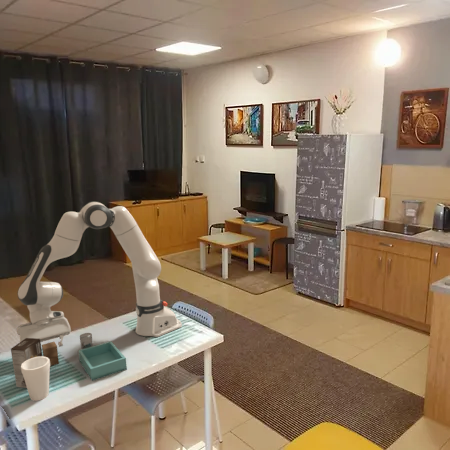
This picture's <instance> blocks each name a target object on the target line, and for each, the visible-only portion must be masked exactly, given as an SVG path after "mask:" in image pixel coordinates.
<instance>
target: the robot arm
mask: <svg viewBox="0 0 450 450" xmlns="http://www.w3.org/2000/svg"><path fill="white" fill-rule="evenodd" d="M88 228H91V229H94V230H100V229H106V228H110V229H111V231H112V232H113V234H114V236H115V238H116V239H117V241H118V242H119V244H120V246H121V247H122V249H123V251H124V252H125V254H126V255H127V257H128V259H129V260H130V263H131V269H132V274H133V282H134V286H135V294H136V295H135V297H136V302H135V311H136V317H137V318H136V327H135V333H136V334H137V335H140V336H142V337H143V336H144V337H157V338H158V337H161V336H163V335H165V334H168V333H171V332H173V331H175V330H179V329H180V328H182V326H183V325H182V321H181V320H180V319H178V318H177V316H176V314H175V312H174V311H172V310H171V309H170V308H168V303H167V302H166V301H164V300H162V299H161V297H160V295H161V294H160V293H161V292H160V283H159V281H158V277H159V276H160V275H161V272H162V264H161V262H160V259H159V258H158V256H157V255H156V253H155V252H154V249H153V248H152V246H151V245H150V243H149V242H148V241H147V239H146V237H145V236H144V234H143V231H142V230H141V228H140V227H139V224H138V222H137V221H136V219H135V218H134V217H133V215H132V214H131V213H130V212H129V210H128V209H127V208H126V206H123V205H117V206H114V207H112V208H108V207H107V206H105V204H103V203H101V202H99V201H94V200H93V201H92V200H91V201H88V202H87V203H85V204H84V205H83V206H82V207H81V208H80V209H78V211H77V212H76V211H67V212H65V213H63V215H62V216H61V218H60V220H59V222H58V224H57V227H56V229H55V231H54V235H53V236H52V238H51V239H50V241H49V242H48V243H47V244H45V245H43V246H42V247H41V248H40V250H39V252H38V254H37V255H36V258H35V259H34V262H32V265H31V268H30V269H29V271H28V273H27V275H26V277H25V278H24V280H23V281H22V283H21V284H20V285H19V287H18V290H17V298H18V300H19V301H20V302H21V304H23V305H24V306H27V309H28V311H29V320H30V322H27V323H23V324H19V325H18V327H17V328H16V334H17V335H18V336H19V343H20V342H21V341H23V340H24V339H25V338H36V339H40V342H41V343H42V342H45V341H49V340H53V339H57V338H59V340H60V341H58V343H57V344H58V345H57V346H58V348H61V347H63V346H64V345H63V344H64V343H63V340H64V337H65V336H68V335H70V334H71V331H72V329H71V328H72V327H71V325H70V323H69V321H68V318H66V317H65V313H64V312H63V311H57V310H52V309H51V307H52V306H55V305H57V304H58V303H59V302H61V300H62V299H63V297H64V290H63V286H62V285H61V284H60V283H59V282H55V281H41V279H42V278H43V275H44V273H45V271H46V269H47V268H48V266H49V265H50V264H51V263H53V262H55V261H57V260H60V259H64V258H65V259H66V258H68V257H70V256H72V255H74V254H75V253H76V252H77V251H78V249H79V247H80V243H81V240H82V237H83V234H84V232H85V231H86V229H88Z"/></svg>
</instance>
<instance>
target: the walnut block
mask: <svg viewBox="0 0 450 450" xmlns="http://www.w3.org/2000/svg"><path fill="white" fill-rule="evenodd" d="M41 349H42V356H44V357H48V358H49V359H50V367H52V366H56V365H58V364H60V359H59V355H58V354H59V351H58V345H57V344H56V342H55V341H51V342H48V343H43V344H41Z"/></svg>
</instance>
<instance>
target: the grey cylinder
mask: <svg viewBox="0 0 450 450" xmlns="http://www.w3.org/2000/svg"><path fill="white" fill-rule="evenodd" d="M79 342H80V343H79V344H80V350H82V349H85V348H89V347H92V346H94V343H93V334H92V333H91V332H84V333H81V334H80V335H79Z"/></svg>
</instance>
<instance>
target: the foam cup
mask: <svg viewBox="0 0 450 450" xmlns="http://www.w3.org/2000/svg"><path fill="white" fill-rule="evenodd" d="M50 369H51V366H50V359H49V358H48V357H44V356H43V355H42V356H40V357H34V358H30V359H28V360H26V361H25V362H23V363H22V365H21V371H22V374H23V377H24V380H25V383H26V386H27V388H26V389H27V392H28V395H29V399H30V400H31V401H34V402H35V401H36V402H37V401H42V400H44V399H46V398H47V397H48V396H49V393H50Z"/></svg>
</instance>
